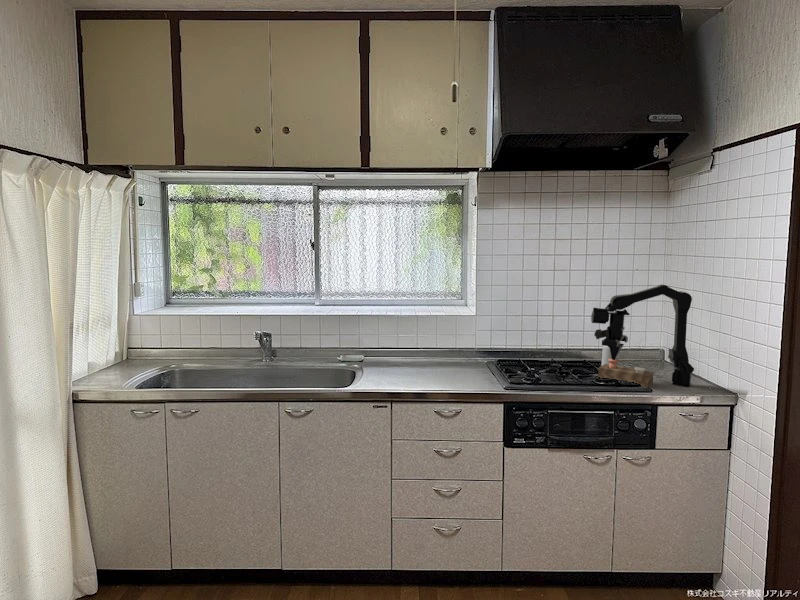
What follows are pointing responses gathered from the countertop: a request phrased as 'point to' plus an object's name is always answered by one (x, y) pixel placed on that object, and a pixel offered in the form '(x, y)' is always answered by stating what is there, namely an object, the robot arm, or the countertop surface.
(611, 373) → the socket board
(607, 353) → the can
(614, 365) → the brick plug
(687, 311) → the robot arm
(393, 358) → the countertop surface
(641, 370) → the cream plug
